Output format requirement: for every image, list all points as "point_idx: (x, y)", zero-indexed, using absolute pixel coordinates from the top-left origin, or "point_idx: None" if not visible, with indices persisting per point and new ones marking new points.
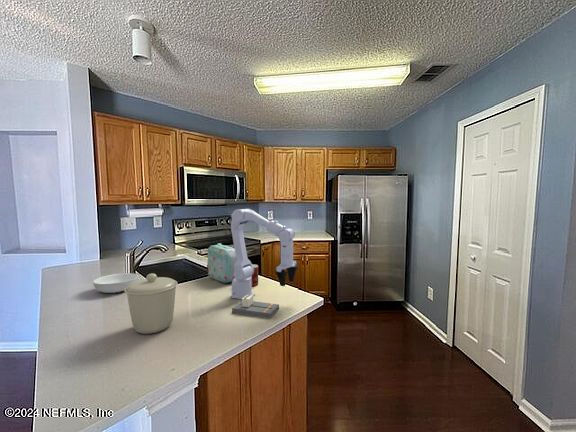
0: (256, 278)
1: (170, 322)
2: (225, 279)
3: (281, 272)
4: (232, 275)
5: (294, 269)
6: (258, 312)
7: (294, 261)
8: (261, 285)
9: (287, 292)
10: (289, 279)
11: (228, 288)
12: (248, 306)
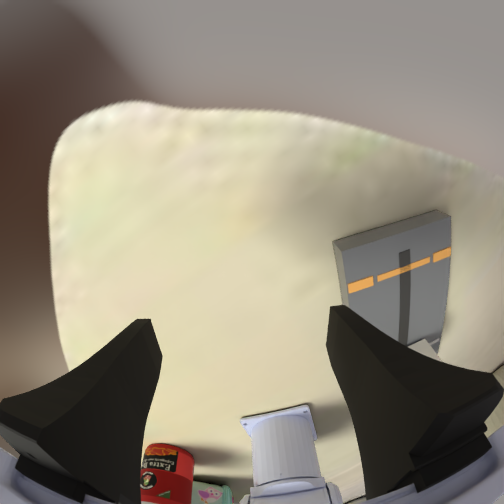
0: (160, 467)
1: (499, 375)
2: (232, 494)
3: (481, 425)
4: (212, 499)
5: (73, 429)
6: (448, 274)
7: (5, 500)
8: (146, 435)
9: (108, 336)
10: (156, 365)
11: (247, 470)
12: (424, 340)
